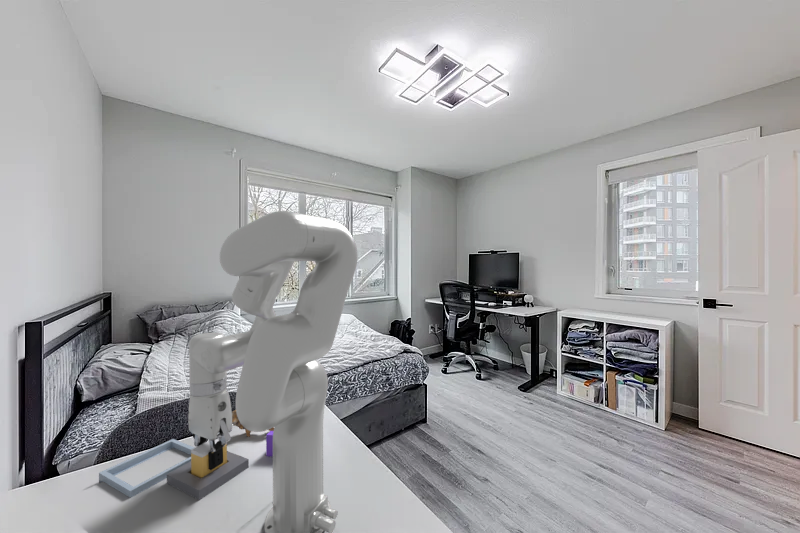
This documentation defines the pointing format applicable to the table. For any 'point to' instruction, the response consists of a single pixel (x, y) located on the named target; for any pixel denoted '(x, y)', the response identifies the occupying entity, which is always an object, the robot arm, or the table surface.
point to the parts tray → (126, 488)
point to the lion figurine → (238, 424)
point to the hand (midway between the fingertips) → (209, 462)
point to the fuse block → (207, 476)
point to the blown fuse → (204, 459)
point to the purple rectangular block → (269, 444)
